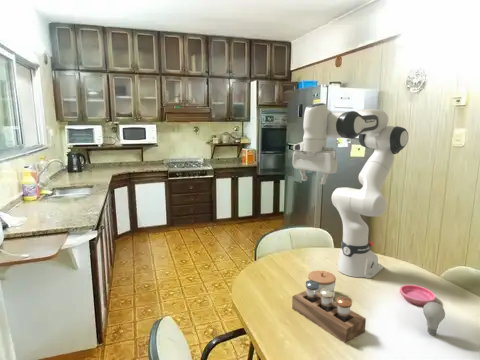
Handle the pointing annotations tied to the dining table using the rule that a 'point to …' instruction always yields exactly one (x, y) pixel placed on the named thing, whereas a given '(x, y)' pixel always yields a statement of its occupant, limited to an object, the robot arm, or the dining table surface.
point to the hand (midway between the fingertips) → (313, 182)
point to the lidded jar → (323, 279)
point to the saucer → (417, 294)
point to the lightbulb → (433, 316)
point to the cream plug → (327, 298)
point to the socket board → (329, 318)
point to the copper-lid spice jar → (343, 308)
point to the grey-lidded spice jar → (312, 290)
